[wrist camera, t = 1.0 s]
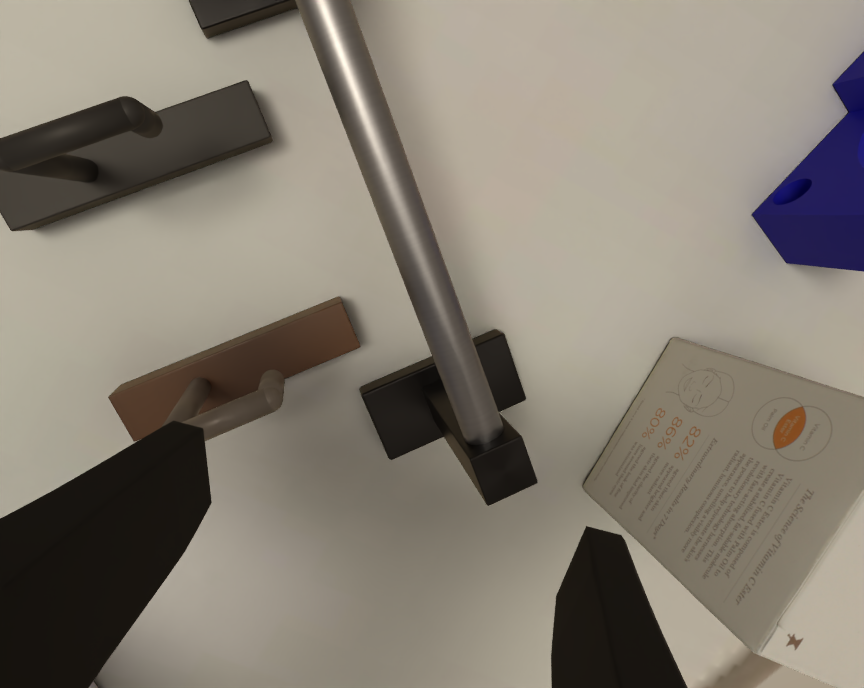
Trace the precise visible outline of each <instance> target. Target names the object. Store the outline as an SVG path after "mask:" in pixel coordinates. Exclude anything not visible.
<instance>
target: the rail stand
mask: <svg viewBox="0 0 864 688" xmlns="http://www.w3.org/2000/svg"><path fill="white" fill-rule="evenodd" d="M189 2H190V4H191V7H192V9H193V11H194V13H195V16H196V18H197V20H198V23H199V25H200V27H201V29H202V31H203V33H204V35H205V36H206V38H209V37H212V36H215V35H218V34H221V33H224V32H227V31H230V30H233V29H236V28H239V27H242V26H245V25H248V24H251V23H254V22H257V21H260V20H263V19H266V18H269V17H272V16H275V15H278V14H280V13H283V12H286V11H289V10H292V9H295V8H298V9H299V12H300V14H301V17H302V20H303V22H304V25H305V27H306V30H307V32H308V35H309V38H310V40H311V43H312V45H313V48H314V51H315V53H316V56H317V58H318V61H319V64H320V66H321V69H322V71H323V74H324V77H325V79H326V82H327V84H328V87H329V89H330V92H331V95H332V97H333V100H334V102H335V105H336V108H337V110H338V113H339V115H340V118H341V121H342V123H343V126H344V128H345V131H346V134H347V136H348V139H349V141H350V144H351V147H352V149H353V152H354V154H355V157H356V159H357V162H358V165H359V167H360V170H361V172H362V175H363V178H364V180H365V183H366V185H367V188H368V191H369V193H370V196H371V198H372V201H373V204H374V206H375V209H376V211H377V214H378V216H379V219H380V222H381V224H382V227H383V229H384V232H385V235H386V237H387V240H388V242H389V245H390V248H391V250H392V253H393V255H394V258H395V261H396V263H397V266H398V268H399V271H400V273H401V276H402V279H403V281H404V284H405V286H406V289H407V292H408V294H409V297H410V299H411V302H412V305H413V307H414V310H415V312H416V315H417V318H418V320H419V323H420V325H421V328H422V330H423V333H424V336H425V338H426V341H427V343H428V346H429V349H430V351H431V354H432V357H429V358H427V359H425V360H422V361H420V362H418V363H415V364H413V365H411V366H408V367H406V368H404V369H401V370H399V371H397V372H394V373H392V374H390V375H387V376H385V377H383V378H380V379H378V380H376V381H373V382H371V383H369V384H366V385H364V386H362V387H360V393H361V396H362V398H363V401H364V403H365V405H366V408H367V410H368V412H369V414H370V417H371V419H372V421H373V424H374V426H375V428H376V430H377V433H378V435H379V437H380V440H381V442H382V444H383V447H384V449H385V451H386V453H387V456H388V458H389V459H390V460H392V459H395V458H397V457H399V456H401V455H404V454H406V453H408V452H410V451H413V450H415V449H417V448H419V447H421V446H424V445H426V444H428V443H430V442H433V441H435V440H437V439H439V438H442V437H444V438H445V439H446V441H447V442H448V444H449V446H450V447H451V449H452V450H453V452H454V453H455V455H456V457H457V458H458V460H459V461H460V463H461V465H462V466H463V468H464V469H465V471H466V473H467V474H468V476H469V477H470V479H471V480H472V482H473V484H474V485H475V487H476V488H477V490H478V492H479V493H480V495H481V496H482V498H483V500H484V501H485V503H486V504H487V505H488V506H489V505H492V504H494V503H496V502H498V501H500V500H502V499H504V498H506V497H509V496H511V495H513V494H515V493H517V492H519V491H521V490H524V489H526V488H528V487H530V486H532V485H534V484H536V483H537V478H536V475H535V473H534V470H533V467H532V464H531V461H530V458H529V456H528V453H527V450H526V447H525V444H524V441H523V438H522V436H521V435H520V434H519V433H518V432H517V431H516V430H515V429H514V428H513V427H512V426H511V425H510V424H509V423H508V422H507V421H506V420H505V419H504V418H503V417H502V416H501V415H500V414H499V412H500V411H502V410H504V409H506V408H509V407H511V406H513V405H515V404H518V403H520V402H522V401H524V400H526V396H525V393H524V391H523V388H522V385H521V382H520V379H519V376H518V373H517V370H516V367H515V364H514V361H513V358H512V355H511V352H510V349H509V346H508V344H507V341H506V338H505V335H504V334H503V333H502V332H500V331H498V330H497V329H496V330H493V331H490V332H488V333H486V334H483V335H481V336H479V337H476V338H474V339H472V337H471V334H470V332H469V329H468V326H467V323H466V321H465V318H464V315H463V312H462V309H461V307H460V304H459V301H458V298H457V296H456V293H455V290H454V287H453V284H452V282H451V279H450V276H449V273H448V271H447V268H446V265H445V262H444V259H443V257H442V254H441V251H440V248H439V245H438V243H437V240H436V237H435V234H434V232H433V229H432V226H431V223H430V220H429V218H428V215H427V212H426V209H425V207H424V204H423V201H422V198H421V195H420V193H419V190H418V187H417V184H416V182H415V179H414V176H413V173H412V170H411V168H410V165H409V162H408V159H407V157H406V154H405V151H404V148H403V145H402V143H401V140H400V137H399V134H398V131H397V129H396V126H395V123H394V120H393V118H392V115H391V112H390V109H389V106H388V104H387V101H386V98H385V95H384V93H383V90H382V87H381V84H380V81H379V79H378V76H377V73H376V70H375V68H374V65H373V62H372V59H371V56H370V54H369V51H368V48H367V45H366V43H365V40H364V37H363V34H362V31H361V29H360V26H359V23H358V20H357V18H356V15H355V12H354V9H353V6H352V4H351V1H350V0H189Z"/></svg>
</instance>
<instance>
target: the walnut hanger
mask: <svg viewBox="0 0 864 688" xmlns="http://www.w3.org/2000/svg"><path fill="white" fill-rule="evenodd" d="M357 348H360V344H359V341H358V339H357V336H356V334H355V332H354V329H353V327H352V325H351V322H350V320H349V318H348V315H347V313H346V311H345V308H344V306H343V303H342V301H341V299H340V297H336V298H333V299H331V300H329V301H326V302H324V303H321V304H319V305H316V306H314V307H311V308H309V309H306V310H304V311H301V312H299V313H296V314H294V315H292V316H289V317H287V318H284V319H282V320H279V321H277V322H274V323H272V324H269V325H267V326H264V327H262V328H259V329H257V330H255V331H252V332H250V333H247V334H245V335H242V336H240V337H237V338H235V339H232V340H230V341H227V342H225V343H223V344H220V345H218V346H215V347H213V348H210V349H208V350H205V351H203V352H200V353H198V354H195V355H193V356H190V357H188V358H186V359H183V360H181V361H178V362H176V363H173V364H171V365H168V366H166V367H163V368H161V369H158V370H156V371H153V372H151V373H149V374H146V375H144V376H141V377H139V378H136V379H134V380H131V381H129V382H126V383H124V384H121V385H120V386H119V387H118V388H117V389H116V390H115V391H114V392H113V393H112V394H111V395H110V396H109V397H108V398H109V400H110V401H111V403H112V405H113V406H114V408H115V410H116V412H117V413H118V415H119V417H120V418H121V420H122V422H123V424H124V425H125V427H126V429H127V430H128V432H129V434H130V436H131V437H132V439H133V441H138V440H140V439H142V438H144V437H146V436H147V435H149V434H151V433H153V432H154V431H156V430H158V429H159V428H161V427H163V426H165V425H166V424H168V423H170V422H172V421H177V422H181V423H185V424H189V425H193V426H197V427H201V428H203V430H204V440H205V441H207V440H209V439H211V438H214V437H216V436H218V435H221V434H223V433H225V432H228V431H230V430H232V429H235V428H237V427H239V426H242V425H244V424H246V423H249V422H251V421H254V420H256V419H258V418H261V417H263V416H265V415H268V414H270V413H272V412H275V411H276V410H278V409H279V408H280V407H281V405H282V402H283V394H284V384H285V379H286V378H288V377H290V376H293V375H295V374H298V373H300V372H302V371H305V370H307V369H309V368H312V367H314V366H317V365H319V364H321V363H324V362H326V361H329V360H331V359H333V358H336V357H338V356H341V355H343V354H345V353H348V352H350V351H352V350H355V349H357ZM252 392H253V393H252ZM247 394H248V395H247ZM240 397H241V398H240ZM235 399H236V400H235ZM228 402H229V403H228ZM216 407H217V408H216ZM209 410H210V411H209ZM204 412H205V413H204Z"/></svg>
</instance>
